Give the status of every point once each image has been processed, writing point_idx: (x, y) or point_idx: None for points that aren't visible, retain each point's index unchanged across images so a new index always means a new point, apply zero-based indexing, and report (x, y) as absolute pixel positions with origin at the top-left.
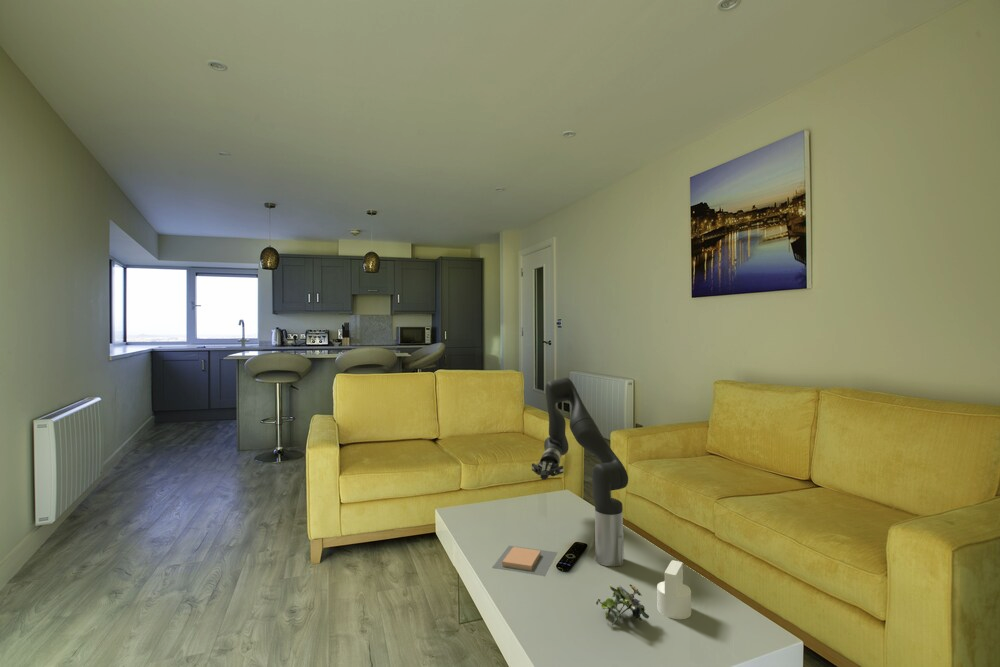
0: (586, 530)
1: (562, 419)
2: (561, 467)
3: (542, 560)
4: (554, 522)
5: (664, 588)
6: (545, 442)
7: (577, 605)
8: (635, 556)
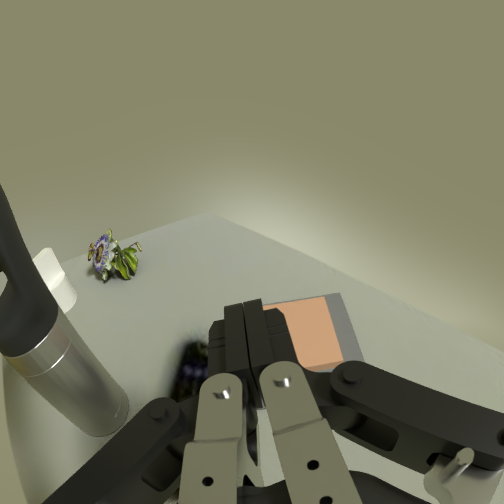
0: None
1: None
2: (57, 491)
3: None
4: None
5: (57, 279)
6: None
7: (168, 273)
8: (51, 436)
